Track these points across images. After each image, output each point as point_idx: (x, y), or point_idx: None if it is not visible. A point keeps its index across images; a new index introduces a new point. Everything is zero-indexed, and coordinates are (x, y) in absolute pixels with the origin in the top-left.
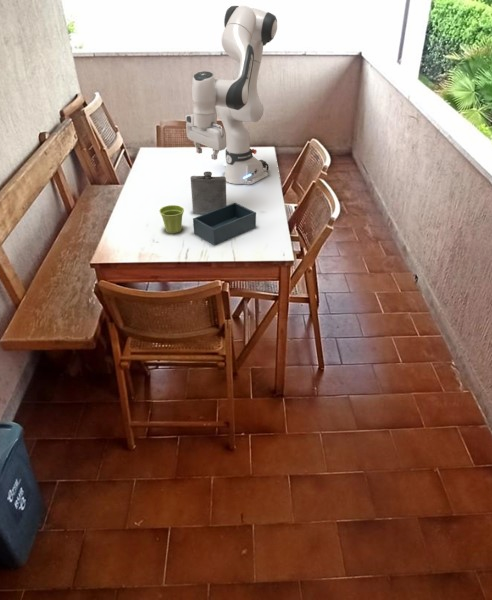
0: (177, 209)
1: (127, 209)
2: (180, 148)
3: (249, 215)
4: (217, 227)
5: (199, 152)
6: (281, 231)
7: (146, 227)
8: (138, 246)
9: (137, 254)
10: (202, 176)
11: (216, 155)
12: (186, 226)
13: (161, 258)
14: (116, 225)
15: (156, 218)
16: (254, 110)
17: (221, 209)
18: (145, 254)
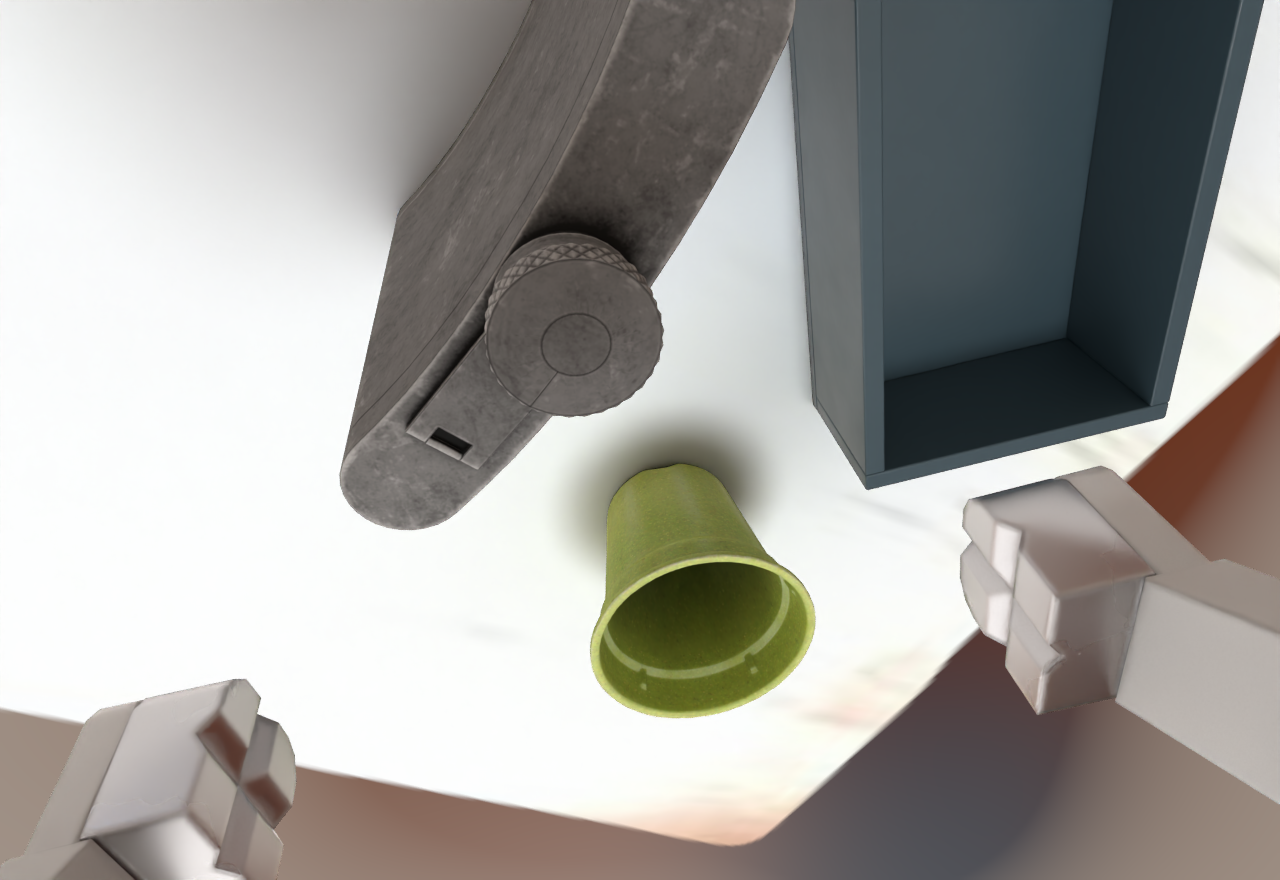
0: (645, 564)
1: (135, 695)
2: None
3: None
4: (1164, 374)
5: (282, 770)
6: None
7: (519, 643)
8: (736, 713)
9: (814, 727)
10: (490, 377)
11: (1185, 573)
12: (664, 412)
13: (940, 647)
14: (396, 770)
15: (400, 563)
16: None
17: (877, 143)
18: (842, 699)
